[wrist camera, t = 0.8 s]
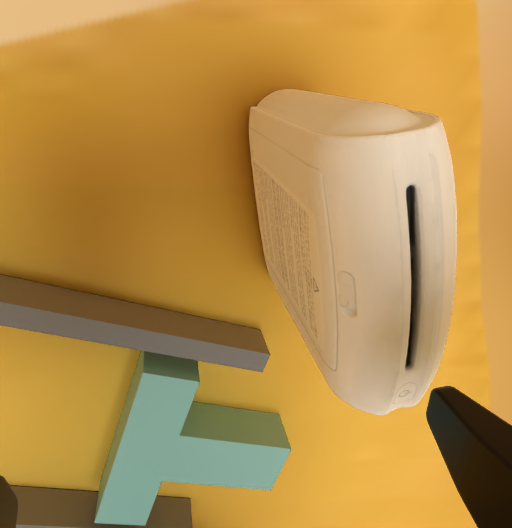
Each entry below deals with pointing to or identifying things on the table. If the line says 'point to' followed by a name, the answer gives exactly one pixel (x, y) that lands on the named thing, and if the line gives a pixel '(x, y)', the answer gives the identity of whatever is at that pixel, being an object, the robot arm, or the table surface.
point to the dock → (129, 336)
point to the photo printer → (359, 238)
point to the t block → (182, 442)
